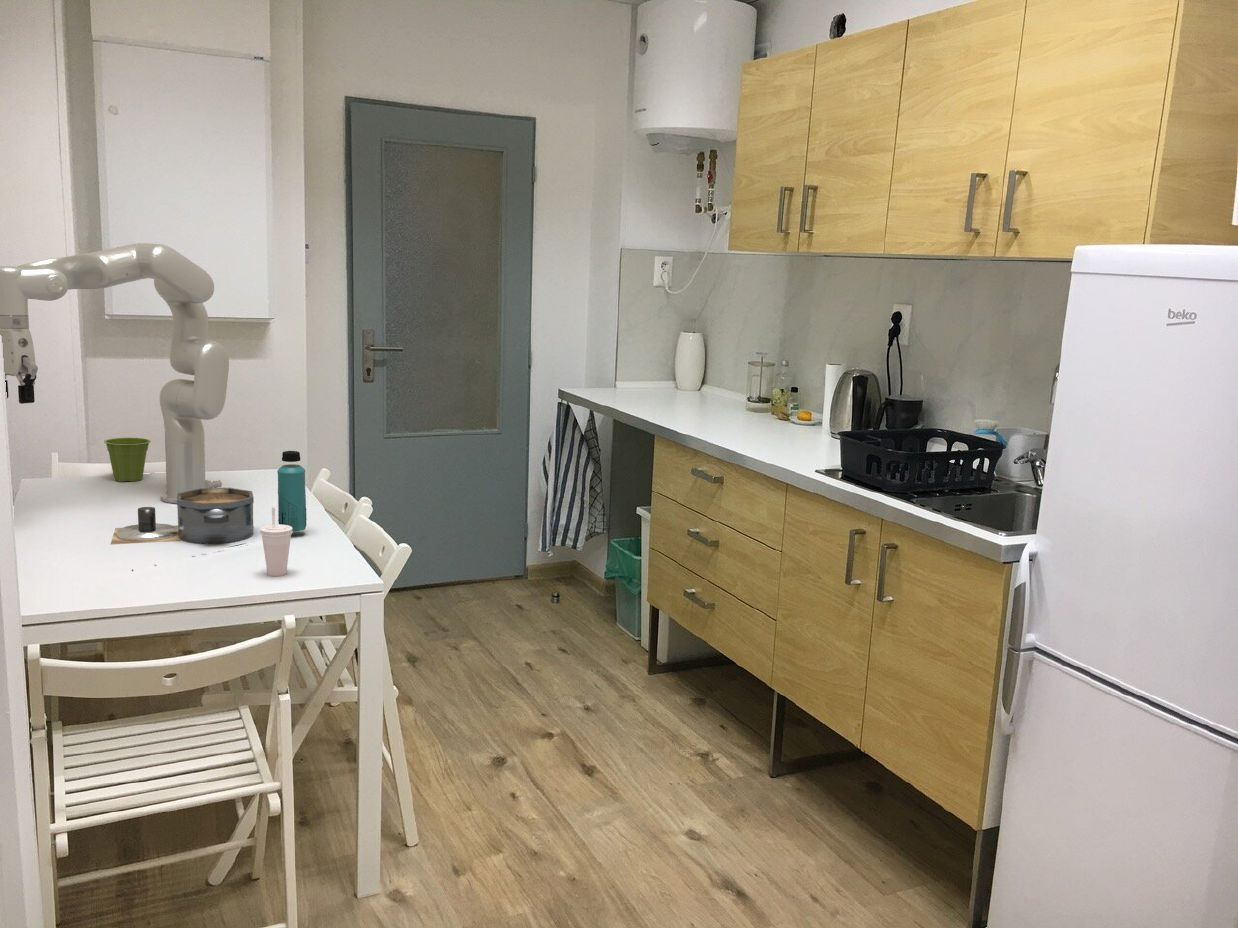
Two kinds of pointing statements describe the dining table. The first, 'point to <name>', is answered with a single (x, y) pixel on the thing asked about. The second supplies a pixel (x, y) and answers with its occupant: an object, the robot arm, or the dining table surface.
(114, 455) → the plant pot
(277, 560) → the smoothie
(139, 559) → the dining table surface
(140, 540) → the lid
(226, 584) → the dining table surface
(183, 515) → the stockpot
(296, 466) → the beverage bottle
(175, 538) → the plate
